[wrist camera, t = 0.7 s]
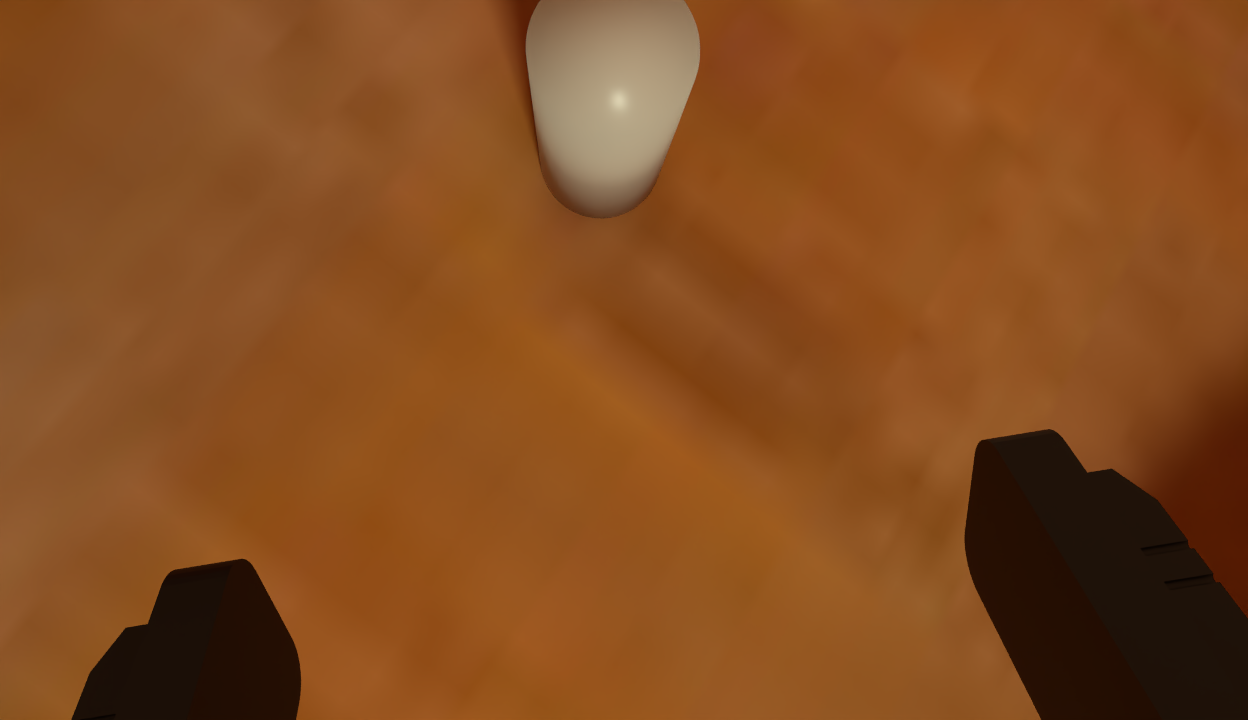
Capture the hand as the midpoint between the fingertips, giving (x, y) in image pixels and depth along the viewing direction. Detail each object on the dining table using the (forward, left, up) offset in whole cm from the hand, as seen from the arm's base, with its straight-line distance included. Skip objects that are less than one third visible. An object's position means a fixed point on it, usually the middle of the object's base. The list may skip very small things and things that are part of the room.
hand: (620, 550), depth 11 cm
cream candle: (0, +11, -24) cm, 26 cm away
